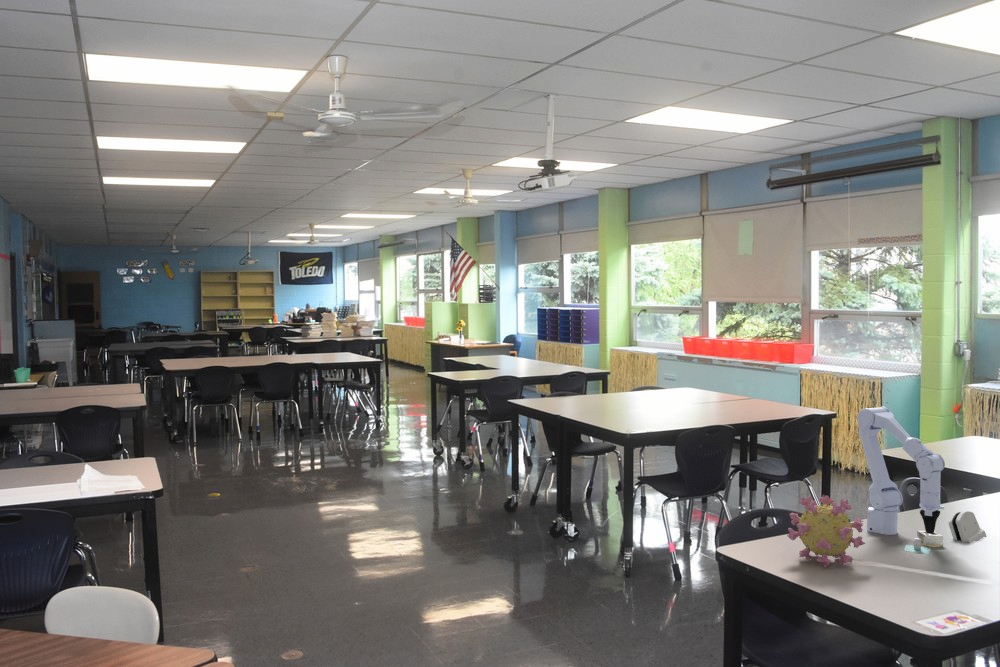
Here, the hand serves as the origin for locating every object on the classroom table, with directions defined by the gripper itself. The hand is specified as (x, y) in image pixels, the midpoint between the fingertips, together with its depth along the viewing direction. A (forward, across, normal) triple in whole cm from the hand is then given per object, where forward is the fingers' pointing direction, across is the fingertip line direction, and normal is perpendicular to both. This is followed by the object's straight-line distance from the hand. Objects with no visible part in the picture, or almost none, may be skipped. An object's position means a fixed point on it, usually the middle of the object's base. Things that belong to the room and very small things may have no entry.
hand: (929, 532), depth 250 cm
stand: (+5, -7, +3) cm, 9 cm away
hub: (+5, +2, 0) cm, 5 cm away
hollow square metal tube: (+4, +2, 0) cm, 4 cm away
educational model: (+5, -32, +26) cm, 41 cm away
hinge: (+6, +19, -10) cm, 22 cm away
